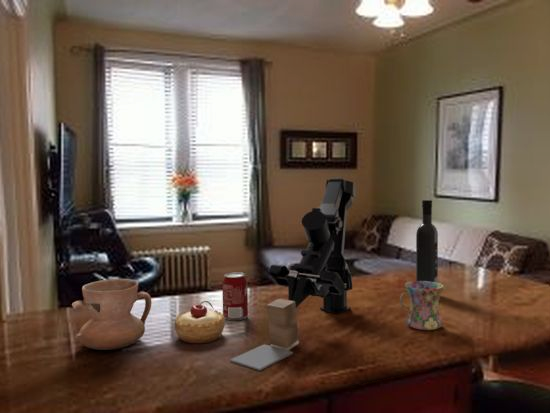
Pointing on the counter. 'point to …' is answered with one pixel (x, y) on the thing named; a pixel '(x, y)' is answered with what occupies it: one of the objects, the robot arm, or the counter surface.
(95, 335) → the ceramic jug
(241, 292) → the soda can
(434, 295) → the mug
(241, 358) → the mat
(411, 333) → the counter surface
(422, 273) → the wine bottle
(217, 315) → the pastry
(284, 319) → the block
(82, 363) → the counter surface
